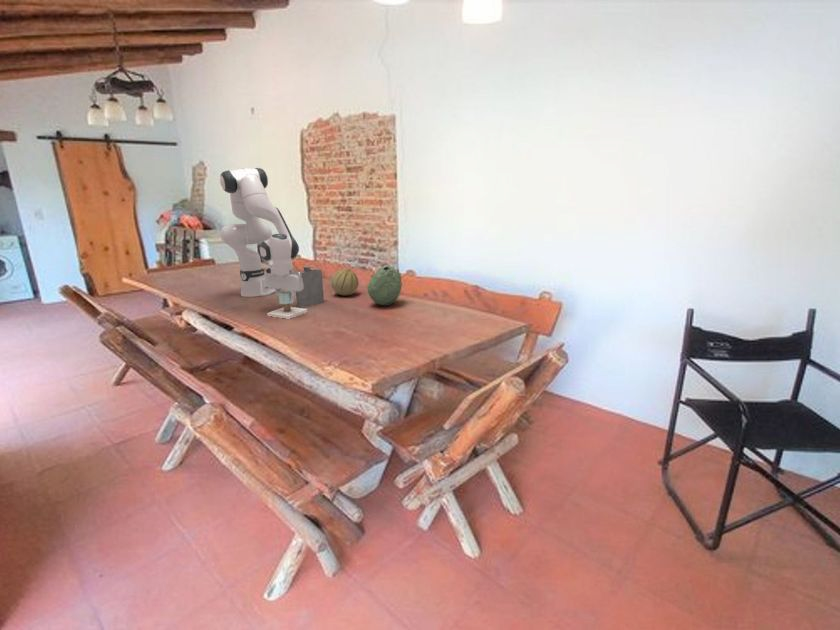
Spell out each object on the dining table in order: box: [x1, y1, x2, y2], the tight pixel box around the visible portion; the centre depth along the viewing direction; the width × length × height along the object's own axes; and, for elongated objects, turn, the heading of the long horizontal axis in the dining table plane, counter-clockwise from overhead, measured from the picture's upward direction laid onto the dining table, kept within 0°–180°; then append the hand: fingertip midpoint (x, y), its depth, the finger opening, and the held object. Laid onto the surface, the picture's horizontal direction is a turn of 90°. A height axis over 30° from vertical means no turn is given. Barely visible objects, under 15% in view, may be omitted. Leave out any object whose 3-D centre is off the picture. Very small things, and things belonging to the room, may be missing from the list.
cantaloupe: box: [330, 268, 359, 297], centre depth 240 cm, size 15×15×15 cm
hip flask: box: [295, 265, 325, 309], centre depth 222 cm, size 16×4×20 cm, turn 140°
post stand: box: [266, 303, 308, 320], centre depth 208 cm, size 13×13×8 cm
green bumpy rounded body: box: [366, 264, 403, 307], centre depth 220 cm, size 16×19×20 cm
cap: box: [278, 290, 295, 305], centre depth 207 cm, size 6×6×5 cm
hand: (286, 298), depth 207 cm, fingers closed on cap, 6 cm apart
